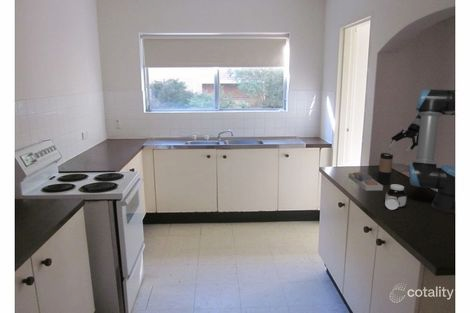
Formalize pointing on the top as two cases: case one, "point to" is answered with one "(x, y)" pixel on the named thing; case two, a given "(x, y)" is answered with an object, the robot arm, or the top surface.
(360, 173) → the key
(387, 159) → the travel mug
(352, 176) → the grey tray
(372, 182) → the key
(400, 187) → the spread jar
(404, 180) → the top surface
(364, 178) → the middle key
